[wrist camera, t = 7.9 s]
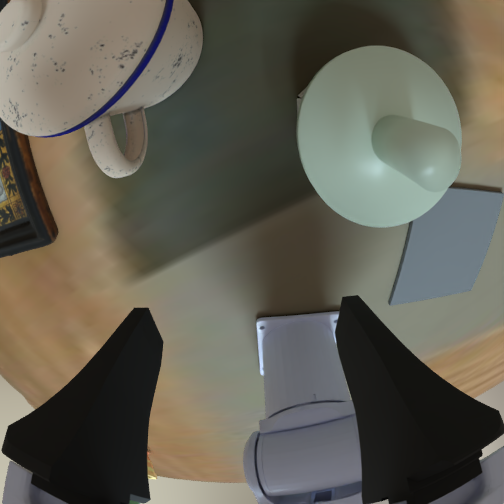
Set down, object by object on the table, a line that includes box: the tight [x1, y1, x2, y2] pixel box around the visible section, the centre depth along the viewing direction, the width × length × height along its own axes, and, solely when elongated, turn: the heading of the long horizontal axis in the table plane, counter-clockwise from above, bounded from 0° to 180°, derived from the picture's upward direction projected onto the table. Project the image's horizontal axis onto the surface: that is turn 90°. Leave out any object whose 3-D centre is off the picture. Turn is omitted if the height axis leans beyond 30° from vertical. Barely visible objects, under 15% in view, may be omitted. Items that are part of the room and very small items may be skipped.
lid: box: [296, 46, 462, 228], centre depth 10 cm, size 10×10×5 cm
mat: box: [389, 187, 504, 305], centre depth 20 cm, size 12×12×1 cm
